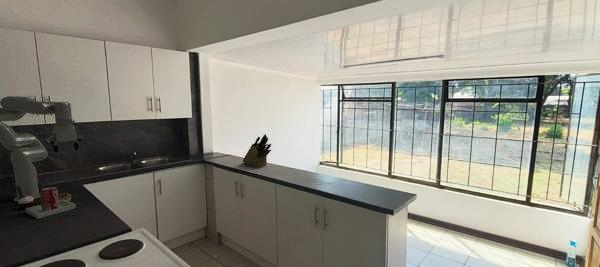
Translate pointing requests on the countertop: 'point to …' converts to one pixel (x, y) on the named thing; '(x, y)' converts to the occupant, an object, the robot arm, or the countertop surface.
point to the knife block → (258, 153)
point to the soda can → (49, 198)
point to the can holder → (64, 197)
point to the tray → (39, 213)
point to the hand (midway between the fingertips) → (66, 150)
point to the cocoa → (24, 200)
